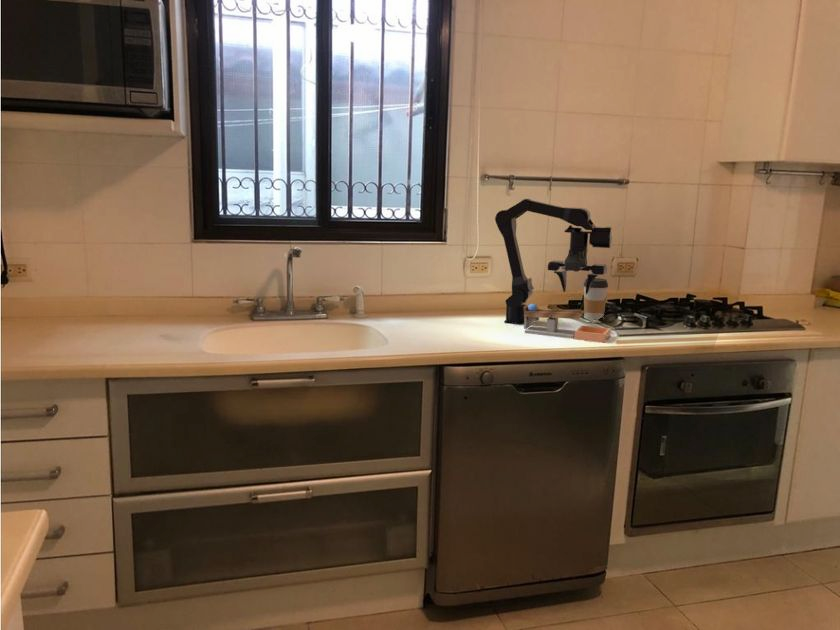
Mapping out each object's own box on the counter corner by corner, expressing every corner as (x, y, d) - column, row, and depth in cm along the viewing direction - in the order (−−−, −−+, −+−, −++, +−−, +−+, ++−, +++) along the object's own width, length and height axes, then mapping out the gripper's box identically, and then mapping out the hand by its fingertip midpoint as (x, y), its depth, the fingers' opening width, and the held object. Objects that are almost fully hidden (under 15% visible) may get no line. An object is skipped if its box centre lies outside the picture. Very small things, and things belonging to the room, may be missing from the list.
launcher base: (522, 332, 215) (522, 317, 214) (529, 327, 222) (530, 313, 221) (573, 338, 207) (573, 323, 206) (579, 333, 214) (580, 318, 213)
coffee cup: (606, 324, 227) (609, 282, 224) (581, 323, 229) (584, 281, 225) (604, 319, 235) (607, 278, 232) (581, 318, 237) (583, 277, 233)
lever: (523, 321, 215) (523, 307, 215) (533, 316, 224) (533, 302, 223) (578, 323, 207) (578, 308, 206) (586, 317, 216) (586, 303, 215)
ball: (526, 314, 216) (525, 304, 215) (529, 312, 218) (528, 303, 218) (536, 313, 214) (535, 304, 214) (539, 312, 217) (538, 302, 216)
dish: (574, 339, 207) (574, 331, 206) (581, 333, 215) (582, 325, 214) (604, 342, 202) (604, 334, 202) (610, 336, 210) (610, 328, 210)
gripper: (544, 246, 214) (541, 293, 218) (601, 250, 206) (598, 299, 209) (553, 243, 224) (551, 288, 227) (609, 247, 216) (605, 294, 219)
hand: (575, 292), depth 221 cm, fingers open, 7 cm apart
